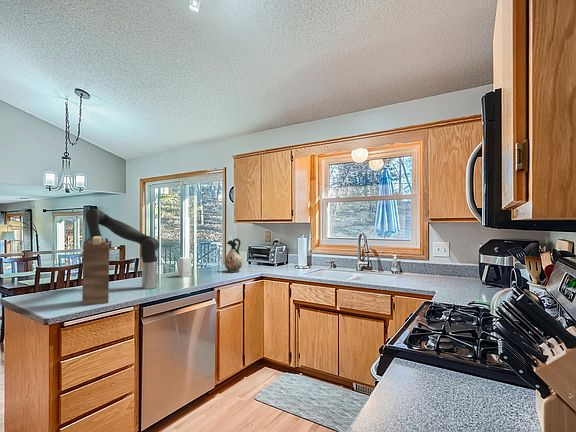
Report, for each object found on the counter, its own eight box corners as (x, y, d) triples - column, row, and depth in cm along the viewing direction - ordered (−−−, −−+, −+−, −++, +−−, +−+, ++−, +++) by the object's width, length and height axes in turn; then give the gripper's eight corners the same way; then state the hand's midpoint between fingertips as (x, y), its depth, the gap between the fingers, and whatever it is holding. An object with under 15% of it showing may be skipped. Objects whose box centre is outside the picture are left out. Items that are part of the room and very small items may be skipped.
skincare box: (187, 275, 268) (187, 256, 268) (191, 276, 264) (192, 257, 264) (178, 276, 261) (178, 257, 262) (182, 277, 257) (182, 258, 257)
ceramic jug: (222, 272, 282) (222, 238, 283) (227, 270, 298) (228, 237, 298) (241, 273, 280) (241, 238, 281) (245, 270, 295) (246, 238, 296)
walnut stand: (83, 300, 181) (85, 240, 182) (108, 298, 187) (109, 240, 187) (82, 305, 170) (83, 241, 171) (108, 302, 176) (109, 241, 177)
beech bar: (94, 242, 192) (94, 236, 192) (101, 241, 194) (101, 236, 194) (92, 244, 169) (92, 238, 170) (100, 244, 171) (100, 238, 171)
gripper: (85, 246, 200) (83, 234, 187) (111, 245, 206) (111, 233, 194) (84, 257, 196) (82, 245, 184) (111, 256, 203) (111, 245, 191)
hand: (97, 239), depth 189 cm, fingers open, 8 cm apart
